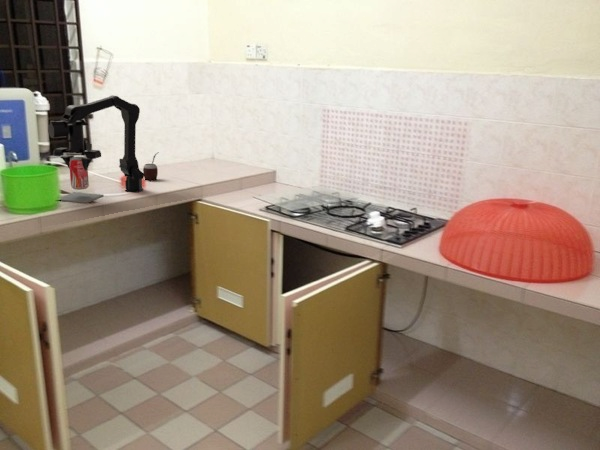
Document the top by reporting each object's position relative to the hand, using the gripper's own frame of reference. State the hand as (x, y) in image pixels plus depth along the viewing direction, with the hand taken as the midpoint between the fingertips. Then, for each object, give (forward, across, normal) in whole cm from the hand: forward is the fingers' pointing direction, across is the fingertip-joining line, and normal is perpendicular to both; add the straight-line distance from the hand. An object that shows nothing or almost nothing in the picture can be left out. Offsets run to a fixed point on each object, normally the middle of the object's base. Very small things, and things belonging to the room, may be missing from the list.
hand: (78, 173), depth 233 cm
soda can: (+7, 0, 0) cm, 7 cm away
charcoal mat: (+11, 0, 0) cm, 11 cm away
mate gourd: (+12, -13, -45) cm, 48 cm away
